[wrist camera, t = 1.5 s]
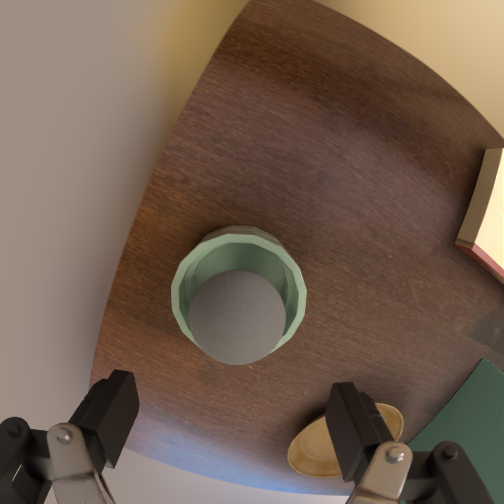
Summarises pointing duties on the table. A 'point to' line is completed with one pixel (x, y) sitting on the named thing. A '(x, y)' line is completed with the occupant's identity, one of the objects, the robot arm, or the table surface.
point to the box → (473, 426)
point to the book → (486, 217)
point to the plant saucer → (330, 445)
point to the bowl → (240, 257)
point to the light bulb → (237, 317)
